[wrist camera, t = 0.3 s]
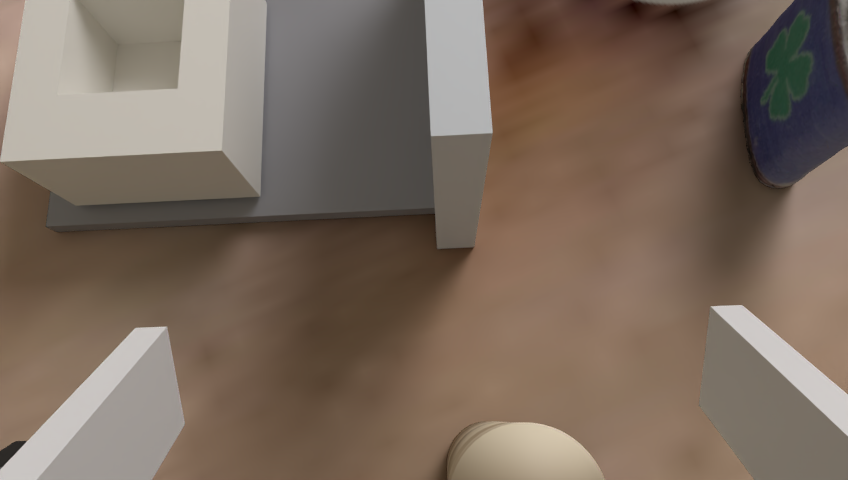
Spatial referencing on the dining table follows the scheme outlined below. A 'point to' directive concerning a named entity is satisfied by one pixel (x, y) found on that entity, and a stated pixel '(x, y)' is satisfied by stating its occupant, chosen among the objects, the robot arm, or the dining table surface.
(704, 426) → the dining table surface
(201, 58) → the sliding block
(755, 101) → the flask
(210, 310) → the dining table surface
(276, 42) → the backstop wall
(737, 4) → the dining table surface
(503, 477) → the dowel
